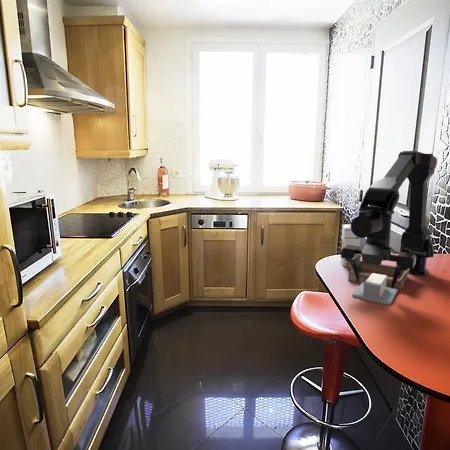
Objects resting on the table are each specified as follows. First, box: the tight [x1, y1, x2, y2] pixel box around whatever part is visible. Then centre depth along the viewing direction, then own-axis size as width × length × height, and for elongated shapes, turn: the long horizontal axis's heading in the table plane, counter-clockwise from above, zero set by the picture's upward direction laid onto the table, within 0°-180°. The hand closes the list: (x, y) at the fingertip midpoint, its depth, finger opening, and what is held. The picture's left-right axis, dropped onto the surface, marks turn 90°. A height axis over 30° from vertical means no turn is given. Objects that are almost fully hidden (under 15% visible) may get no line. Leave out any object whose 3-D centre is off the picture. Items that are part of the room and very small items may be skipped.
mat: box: [351, 282, 399, 306], centre depth 99 cm, size 11×10×1 cm
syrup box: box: [340, 223, 361, 267], centre depth 124 cm, size 6×6×14 cm
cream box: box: [363, 272, 388, 300], centre depth 98 cm, size 10×4×4 cm, turn 144°
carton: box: [345, 259, 409, 291], centre depth 110 cm, size 13×18×6 cm
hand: (374, 284), depth 98 cm, fingers open, 9 cm apart
